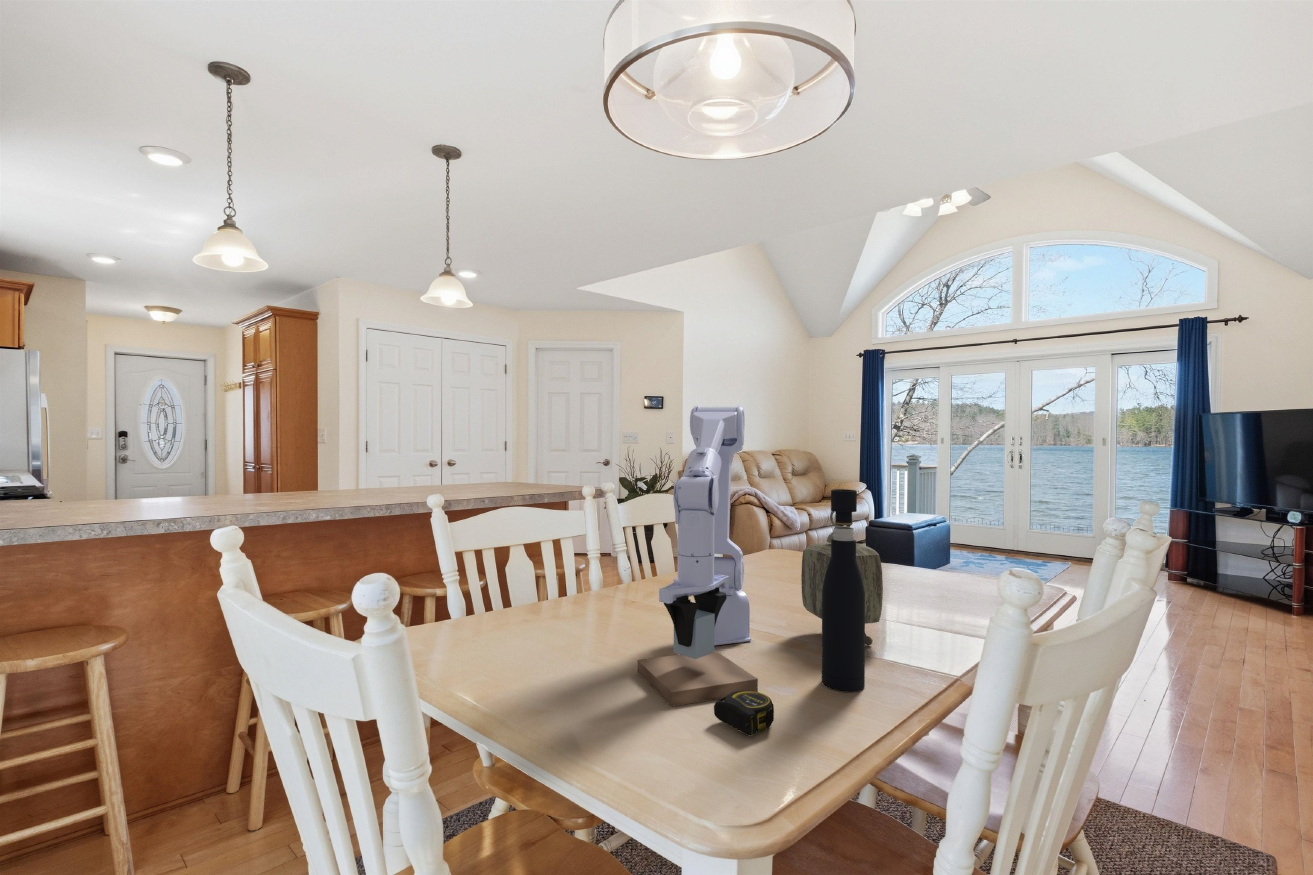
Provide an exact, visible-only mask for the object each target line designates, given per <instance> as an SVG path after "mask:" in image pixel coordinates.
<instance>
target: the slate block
mask: <svg viewBox="0 0 1313 875" xmlns="http://www.w3.org/2000/svg"><path fill="white" fill-rule="evenodd" d="M714 629H715V614H714V613H710V612H706V611H701V610H697V611H696V614H695V618H694V624H693V637H692V643H691V646H689V647H686V646H683V645H679V644H678V640H677V636H676V632H675V628H674V627H673V653H675V654H676V655H684V656H687V657H690V658H693V659H698V658H700V657H703V656H706V655H708V654H711V653H714V650H715V645H714Z"/></svg>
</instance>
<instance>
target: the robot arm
mask: <svg viewBox="0 0 1313 875" xmlns="http://www.w3.org/2000/svg"><path fill="white" fill-rule="evenodd" d="M689 429H690V430H689V431H690V434H691V437H692V441H693V443H694V445H695V447H696V448H694V449H692V450H691V451H690V452H689V454H688V456H687V459H686V463H685V466H684V469H683V470H684V471H683V474H682V477H680V479H679V480H678V479H677V480H675V482H674V484H673V485H674V486H673V493H672V494H673V497H672V498H673V500H672V501H673V507H674V514H675V515H674V516H675V517H674V519H675V520H674V521H675V525H677V568H676V570H677V577H676V578H674V579H673V582H672V583H671V584H668V585H666V586H665V587H661V588H659V589H658V602H661V603H663V605H664V607H665V608H666V610H667V612H668V614H669V616H670V619H671V621H672V624H673V629H674V628H675V632H676V636H677V640H678V644H679V645H683V646H686V647H689V646H691V643H692V637H693V624H694V618H695V614H696V611H697V610H701V611H706V612H710V613H714V614H715V629H714V646H721V645H729V644H736V643H744V642H752V637H751V636H750V634H751V633H750V632H751V631H750V628H751V627H750V621H751V620H750V619H751V618H750V615H751V613H750V612H751V611H750V610H751V609H750V602H749V597H748V595H747V594H746V592H745V591H743V590H742V589H743V587H744V577H745V576H744V575H745V567H744V566H745V563H744V552H743V551H742V549H741V547H739V546H738V545H737V544H736V543H734V542H733V541H732V540H731V539H730V521H731V520H730V518H731V489H732V488H731V487H732V486H731V485H732V484H731V483H732V482H731V479H732V463H733V460H734V456H735V455H736V454H737V453H740V452H741V451H743V449H744V445H745V410H744V408H743V407H742V406H741V405H737V406H698V405H696V406H695V405H694V406H693V408H691V410H690V416H689ZM715 555H730V556H729V557H728V556H715ZM690 597H693V599H694V602H693V601H691V599H689V598H690Z"/></svg>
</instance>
